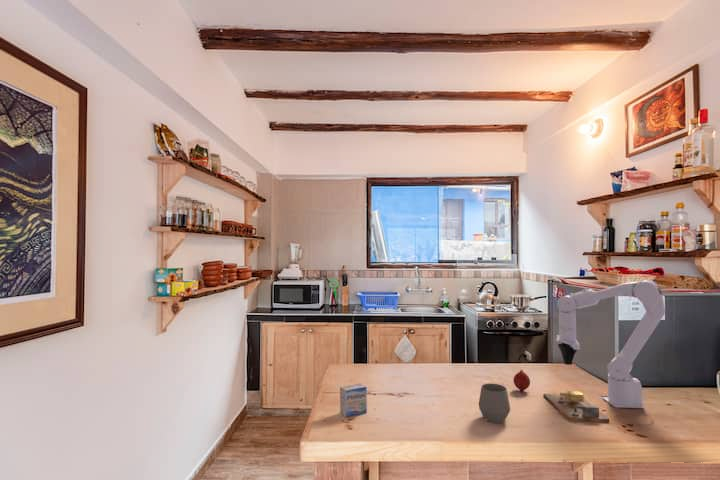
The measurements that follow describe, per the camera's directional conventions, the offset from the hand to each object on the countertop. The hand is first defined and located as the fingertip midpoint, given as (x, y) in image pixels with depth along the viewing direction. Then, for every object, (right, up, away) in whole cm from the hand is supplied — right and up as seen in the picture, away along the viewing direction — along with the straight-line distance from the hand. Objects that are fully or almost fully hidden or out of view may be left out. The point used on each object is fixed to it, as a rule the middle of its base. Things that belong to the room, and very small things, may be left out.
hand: (567, 364), depth 146 cm
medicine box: (-80, -11, -18) cm, 83 cm away
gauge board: (-6, -10, -15) cm, 19 cm away
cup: (-36, -10, -23) cm, 44 cm away
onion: (-17, -11, +1) cm, 20 cm away
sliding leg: (-6, -8, -13) cm, 16 cm away
